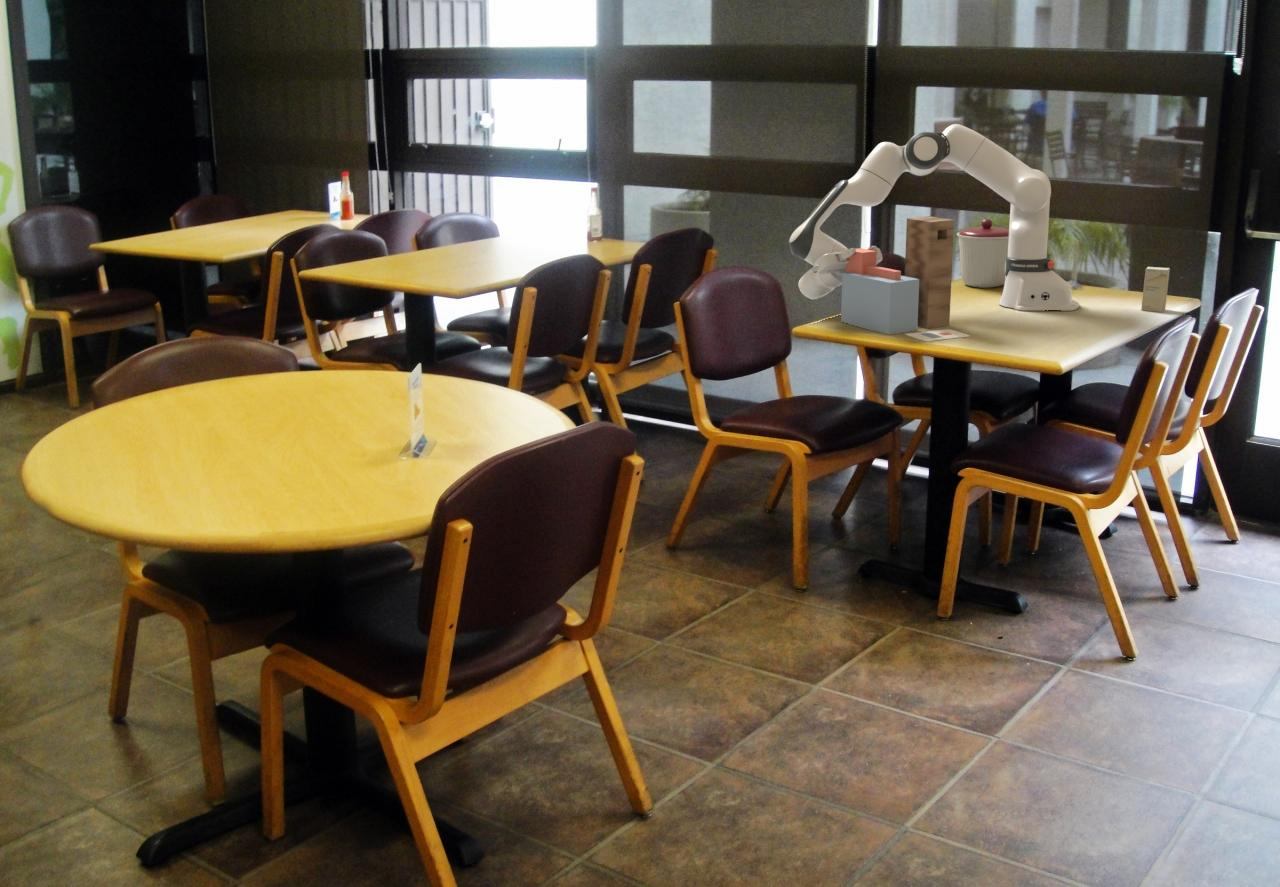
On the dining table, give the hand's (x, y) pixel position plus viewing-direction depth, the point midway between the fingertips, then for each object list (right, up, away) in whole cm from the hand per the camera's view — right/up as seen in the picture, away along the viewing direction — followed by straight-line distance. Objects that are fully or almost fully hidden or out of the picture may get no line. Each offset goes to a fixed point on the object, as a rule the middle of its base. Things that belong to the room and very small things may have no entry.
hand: (864, 249), depth 380 cm
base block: (+4, -21, 0) cm, 22 cm away
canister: (+48, -3, +59) cm, 76 cm away
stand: (+17, -21, +2) cm, 27 cm away
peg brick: (+3, -7, -2) cm, 8 cm away
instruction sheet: (+17, -25, -13) cm, 33 cm away
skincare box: (+86, -16, +15) cm, 88 cm away
